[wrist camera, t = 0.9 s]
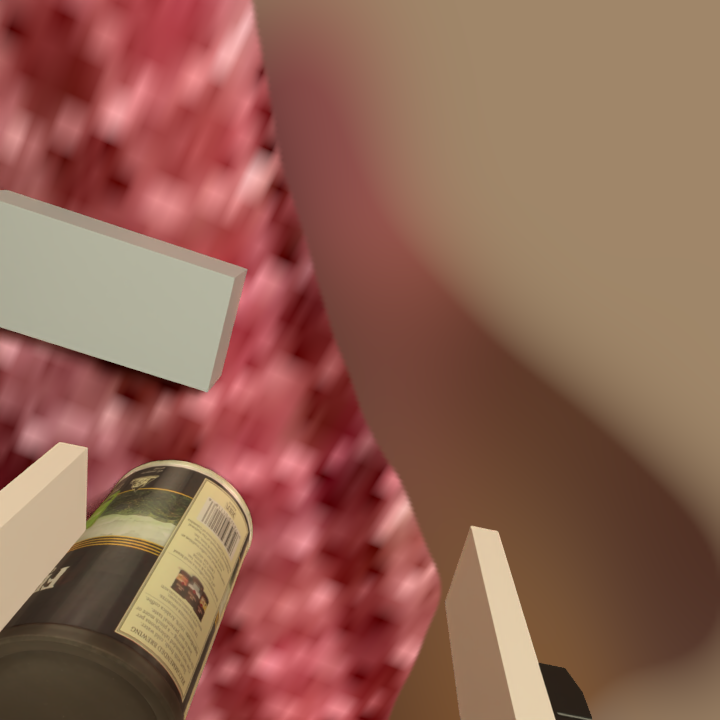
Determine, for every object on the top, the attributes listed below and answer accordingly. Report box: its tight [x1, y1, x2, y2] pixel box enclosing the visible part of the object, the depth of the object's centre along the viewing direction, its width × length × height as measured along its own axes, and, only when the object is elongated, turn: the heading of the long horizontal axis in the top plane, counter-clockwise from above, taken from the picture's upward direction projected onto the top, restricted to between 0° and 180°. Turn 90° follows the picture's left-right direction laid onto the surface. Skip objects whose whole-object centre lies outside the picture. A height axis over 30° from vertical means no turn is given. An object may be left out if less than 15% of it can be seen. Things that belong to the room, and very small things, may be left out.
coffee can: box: [0, 460, 253, 720], centre depth 30 cm, size 10×10×14 cm
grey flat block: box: [0, 190, 247, 392], centre depth 30 cm, size 14×7×3 cm, turn 72°
